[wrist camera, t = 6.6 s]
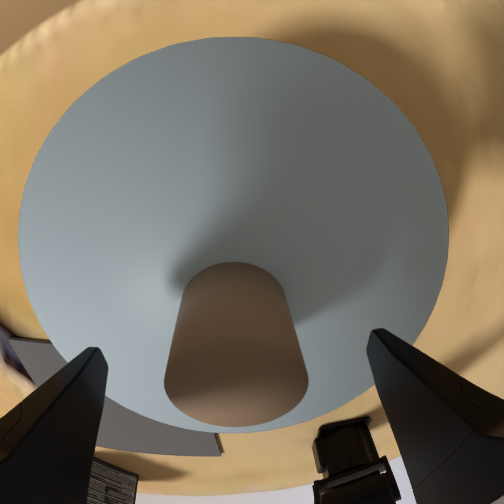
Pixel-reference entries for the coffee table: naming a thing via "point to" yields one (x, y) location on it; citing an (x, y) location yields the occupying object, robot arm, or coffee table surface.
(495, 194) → the coffee table surface
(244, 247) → the lid
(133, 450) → the mat
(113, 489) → the small box
